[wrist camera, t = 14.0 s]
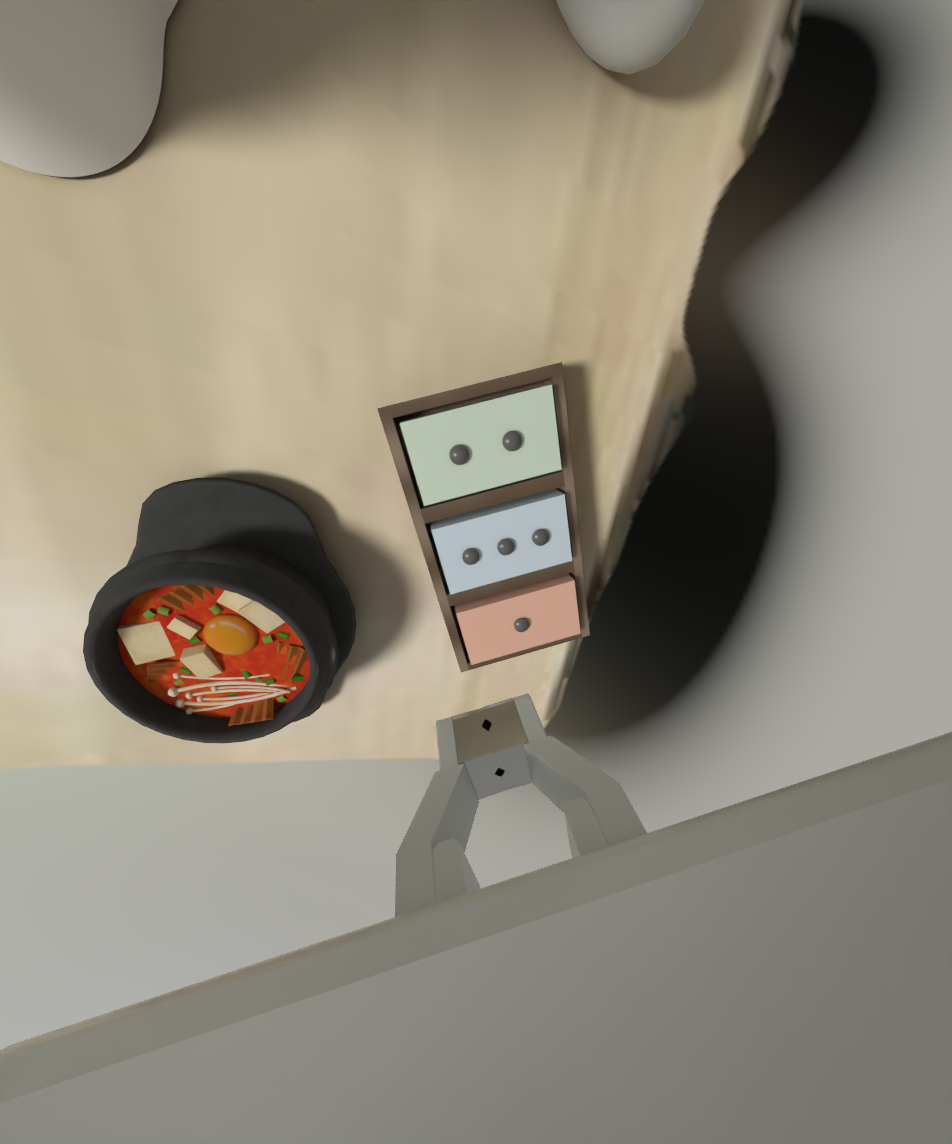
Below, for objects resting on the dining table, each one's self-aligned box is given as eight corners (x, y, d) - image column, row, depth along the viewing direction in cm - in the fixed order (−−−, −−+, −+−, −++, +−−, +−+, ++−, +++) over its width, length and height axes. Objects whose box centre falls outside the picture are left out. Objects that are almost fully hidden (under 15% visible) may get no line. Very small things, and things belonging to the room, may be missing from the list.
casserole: (358, 710, 41) (346, 780, 33) (166, 714, 37) (104, 794, 29) (359, 485, 31) (341, 512, 23) (96, 460, 27) (-27, 482, 19)
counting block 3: (452, 595, 35) (456, 615, 32) (560, 565, 36) (575, 581, 32) (466, 644, 38) (471, 667, 34) (567, 615, 38) (582, 635, 35)
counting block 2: (429, 518, 32) (431, 531, 28) (550, 485, 32) (566, 495, 29) (447, 578, 34) (450, 596, 31) (558, 547, 35) (573, 561, 31)
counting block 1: (400, 420, 28) (399, 423, 25) (537, 386, 28) (553, 384, 25) (422, 496, 31) (424, 507, 27) (547, 463, 31) (563, 470, 28)
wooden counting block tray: (381, 408, 28) (377, 408, 25) (545, 366, 29) (561, 362, 26) (457, 650, 39) (461, 672, 36) (575, 616, 40) (589, 635, 37)
